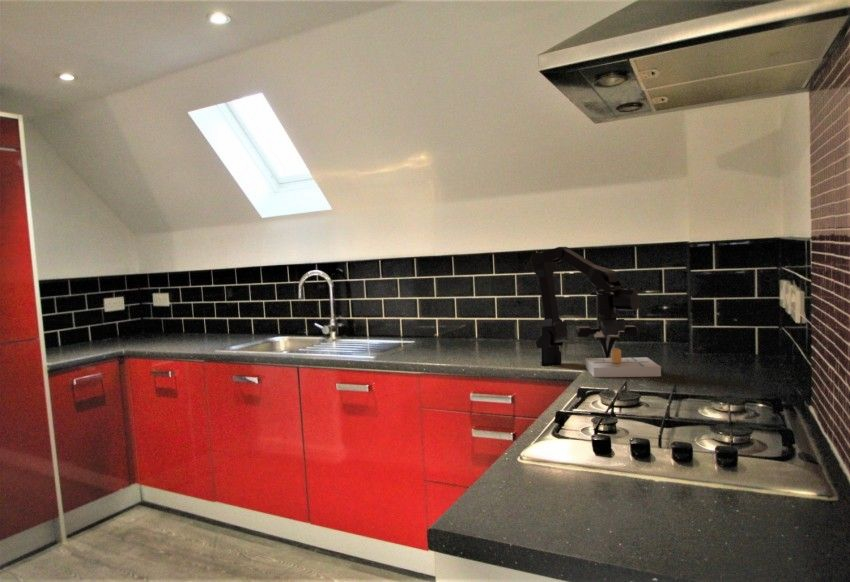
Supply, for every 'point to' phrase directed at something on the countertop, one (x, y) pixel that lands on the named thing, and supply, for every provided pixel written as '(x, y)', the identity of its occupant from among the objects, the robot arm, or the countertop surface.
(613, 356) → the fader knob
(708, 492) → the countertop surface
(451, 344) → the countertop surface
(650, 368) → the console
